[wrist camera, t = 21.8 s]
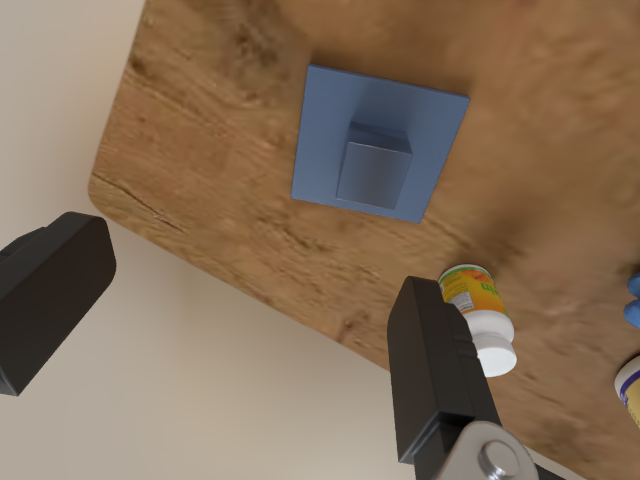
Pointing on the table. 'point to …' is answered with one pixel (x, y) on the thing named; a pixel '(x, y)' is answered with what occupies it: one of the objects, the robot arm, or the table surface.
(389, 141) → the slate block
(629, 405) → the supplement tub
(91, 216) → the robot arm
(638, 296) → the grapes
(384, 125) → the slate mat
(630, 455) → the table surface
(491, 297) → the supplement bottle
